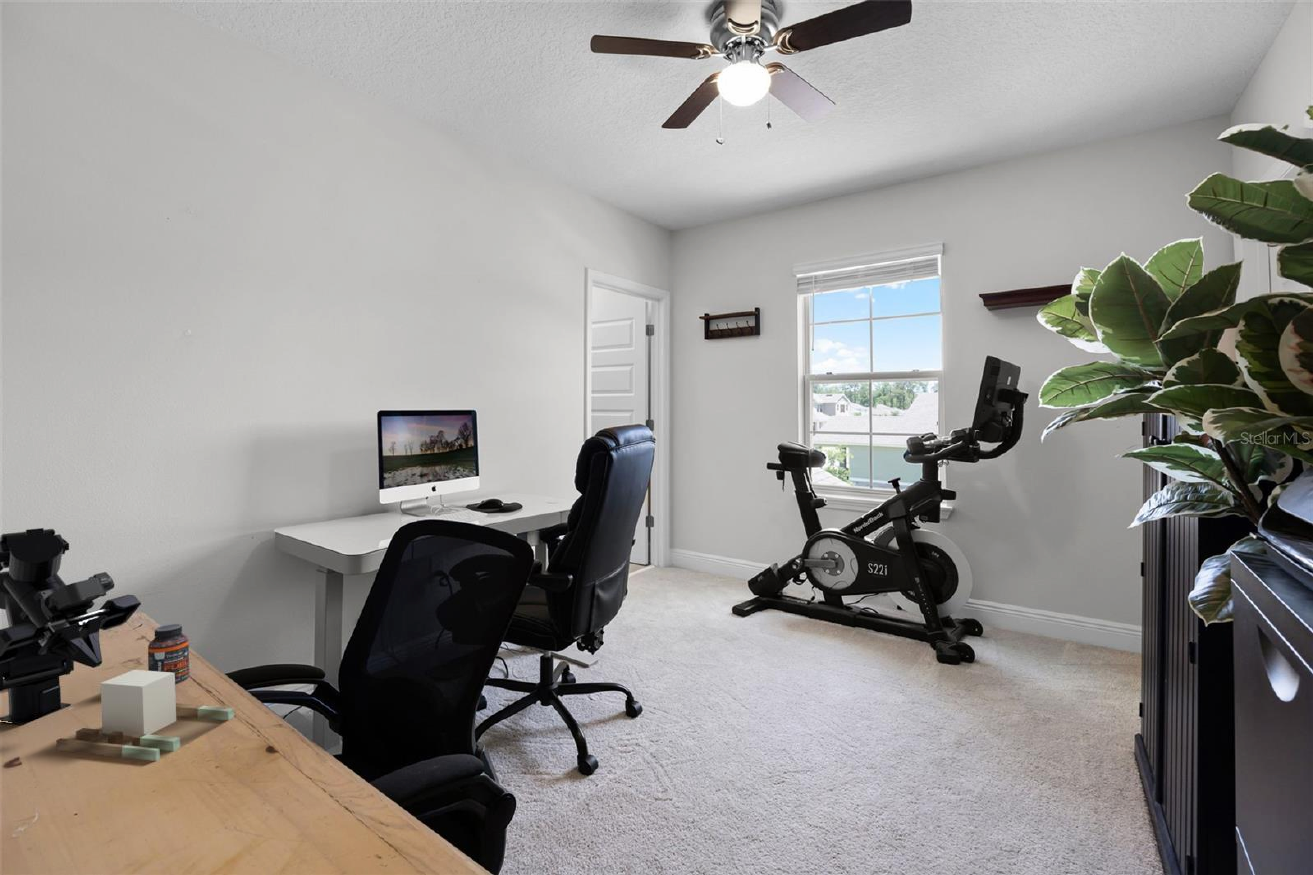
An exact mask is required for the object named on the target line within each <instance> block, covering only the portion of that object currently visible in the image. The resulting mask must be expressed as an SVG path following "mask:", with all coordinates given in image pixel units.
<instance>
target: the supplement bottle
mask: <svg viewBox="0 0 1313 875" xmlns="http://www.w3.org/2000/svg"><path fill="white" fill-rule="evenodd" d="M182 632H183V625H182V624H180V623H174V624H173V623H172V624H166V625H165V624H164V625H162V626H158V627H156V628H154V638H153V640H150V642H149V643H148V646H147V659H148V661H147V663H148V664H147V667H148V668H147V671H158V672H171V673H175V685H178V684H180V683H183V682H185V681H186V680H188V679H189V677H190V646H189V641H190V640H189V637H188V636H187V635H186V634H183V633H182Z"/></svg>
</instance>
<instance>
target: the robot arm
mask: <svg viewBox="0 0 1313 875" xmlns="http://www.w3.org/2000/svg"><path fill="white" fill-rule="evenodd" d="M69 550H70V543H69V542H68V541H67V540H66V539H65V538H63V537H62V535H61V534H60V533H58V534H56V531H55V529H53V528H47V529H44V527H42V528H39V527H37V528H31V529H29V528H28V529H26V530H25V531H19V532H18V531H17V532H11V533H9V532H8V533H2V534H1V535H0V610H5V614H6V619H7V625H8V627H5V628H1V629H0V692H3V691H5V690H7V691H8V696H7V697H8V714H7V715H4V716H1V717H0V720H1V721H8V722H12V723H17V724H16V725H20V724H22V725H23V726H24V725H26V724H27V725H28V724H30V723H31V722H34V721H36V720H39V719H41V718H44V717H46V716H49V715H51V714H54V713H56V712H58V711H61V710H63V709H66V708H67V707H71V706H72V704H71V703H66V702H65V703H64V702H62V695H61V694H62V693H61V690H62V689H61V686H60V677H62V676H68V675H71V672H73V671H75V663H78V664H80V665H84V666H86V667H90V668H93V669H95V668H99V667H100V666H101V665H102V664H103V656H102V650H101V643H100V630H103V631H108V630H110V629H113V628H117V627H120V626H122V625H124V624H125V623H126V622H128V620H129V619H130V618H131V616H133V614H134V613H135V612H136V611H137V610H138V608H139V607H141V605H142V602H141V601H140V600H139V599H138V597H136V595H134V594H126V595H122V596H118V597H114V598H110V599H107V600H106V601H105V602H104V604H103V605H102V606H101V607H100V608H99V610H97V611H96V610H95V611H92V612H88V610H89V609H90V610H91V609H92V608H93V607H94V605H95V602H94V601H95V600H96V599H99V598H101V597H105V596H106V595H107V592H109V591H111V590H112V589H114V588H115V585H116V584H115V582H114V579H113V578H112V576H111V575H109V574H108V573H107V572H106V571H104V572H99V573H95V574H93V575H92V576H90V577H88V578H87V579H84V580H80V581H76V582H72V583H70V584H66V583H65V581H64V580H63V579H62V577H60V576H59V575H58V573H59V571H60V569H61V564H62V562H61V561H62V556H63V555H66V552H67V551H69ZM4 569H8V570H6V571H3V570H4Z"/></svg>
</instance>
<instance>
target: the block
mask: <svg viewBox="0 0 1313 875" xmlns="http://www.w3.org/2000/svg"><path fill="white" fill-rule="evenodd" d="M176 699H177V698H176V684H175V673H171V672H158V671H148V670H143V669H142V670H141V669H133V670H130V671H127V672H126V673H123V674H120V675H118V676H115V677H113V678H110V679H108V680H104V681H102V682H100V703H101V706H100V707H101V729H102V733H106V734H110V733H112V732H114V731H119V732H123V735H126V736H135V735H137V734H149V735H150V734H152V733H154V732H156V731H158V730H159V729H161V728H163V727H165V726H167V725H169V724H171V723H173V722H175V721H176V703H177V702H176Z"/></svg>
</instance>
